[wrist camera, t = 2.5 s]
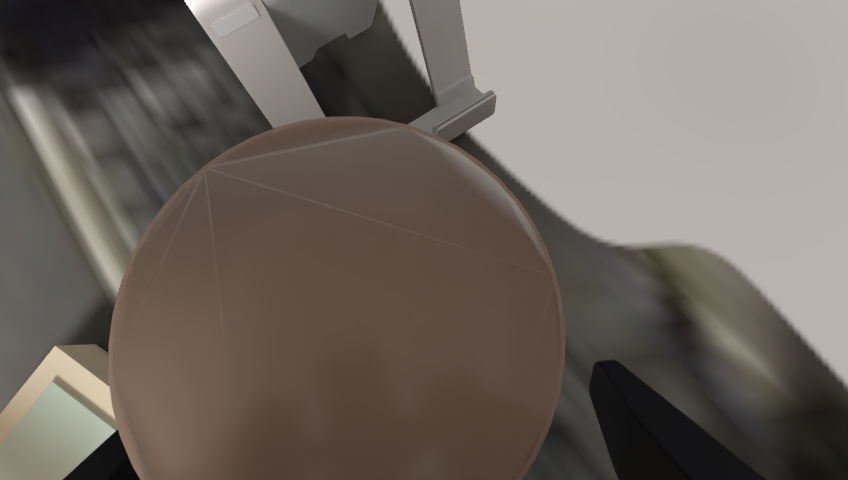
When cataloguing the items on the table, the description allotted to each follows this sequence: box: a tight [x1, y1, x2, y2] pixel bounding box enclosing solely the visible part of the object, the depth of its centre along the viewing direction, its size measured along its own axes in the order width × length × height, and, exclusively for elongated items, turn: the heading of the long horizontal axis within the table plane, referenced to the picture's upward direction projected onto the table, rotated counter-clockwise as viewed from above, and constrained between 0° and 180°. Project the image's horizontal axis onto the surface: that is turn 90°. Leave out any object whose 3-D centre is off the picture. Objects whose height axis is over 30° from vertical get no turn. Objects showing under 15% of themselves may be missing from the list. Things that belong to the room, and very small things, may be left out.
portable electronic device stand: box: [184, 0, 496, 142], centre depth 16 cm, size 9×8×8 cm
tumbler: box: [108, 116, 566, 480], centre depth 11 cm, size 6×6×13 cm
